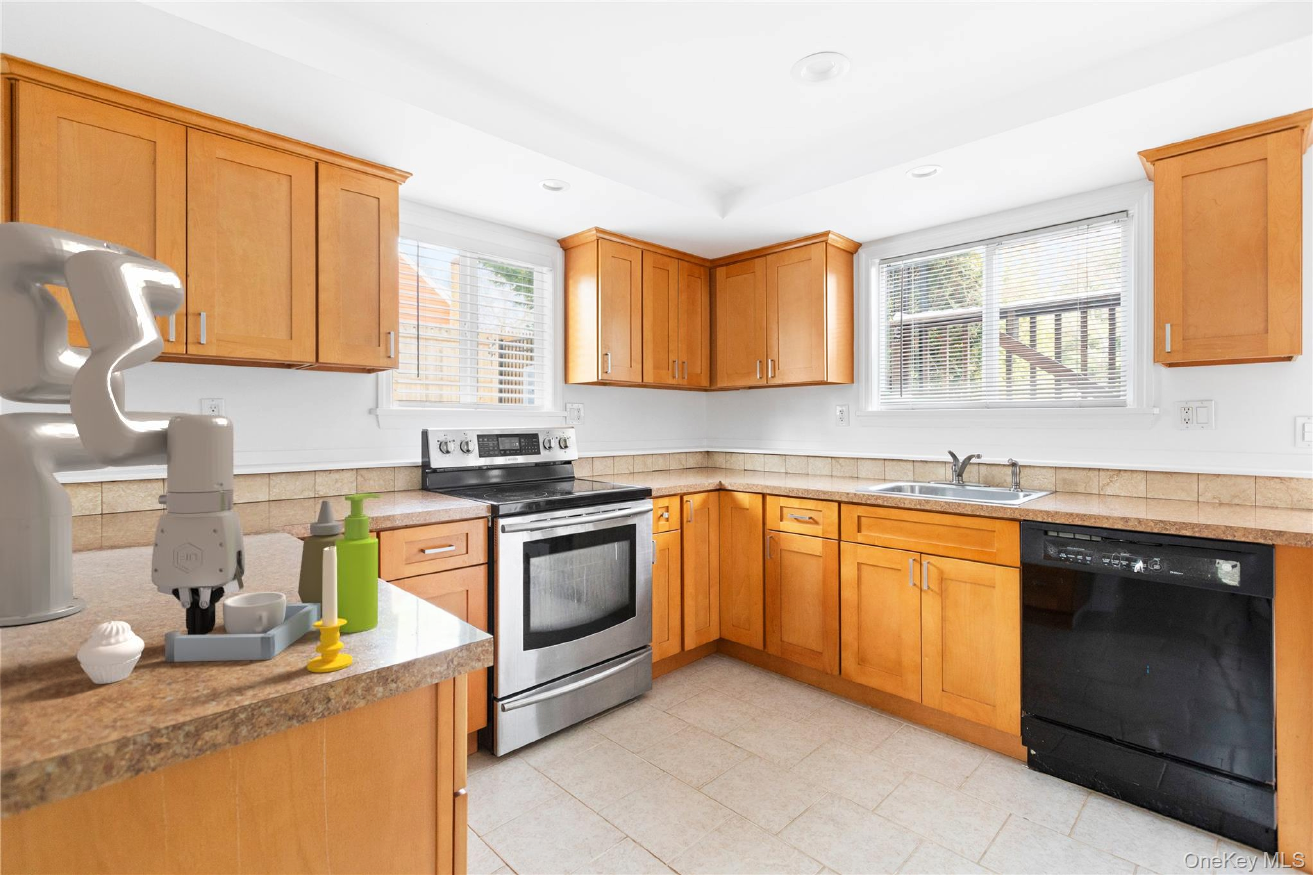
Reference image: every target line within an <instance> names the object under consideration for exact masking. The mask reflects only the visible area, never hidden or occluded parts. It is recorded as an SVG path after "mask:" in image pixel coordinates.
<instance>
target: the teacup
mask: <svg viewBox="0 0 1313 875" xmlns="http://www.w3.org/2000/svg"><path fill="white" fill-rule="evenodd" d="M286 604H287V598H286V594H284V593H282V592H277V591H257V592H256V591H255V592H248V593H242V594H238V595H234V596H232V597H229V598H226V599H225V600H224V601H223V603H222V616H223V617H222V618H223V625H224V628H225V631H226V634H266V633H267V632H269V631H270V630H272V629H273V628H275V627H276V626H278V625H280V624H281V623H283V621H284V618H285V611H286Z"/></svg>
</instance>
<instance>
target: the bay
mask: <svg viewBox="0 0 1313 875" xmlns="http://www.w3.org/2000/svg"><path fill="white" fill-rule="evenodd" d="M321 617H322V615H321V603H302V602H301V603H297V602H296V603H286V611H285V618H284V621H283V623H281V624H280V625H278V626H276V627H275V628H273V629H272V630H270V631H269V632H267V633H266V634H228V633H225V634H224V633H223V634H206V635H188V634H181V631H180V630H173V631H167V632H166V633H165V634H164V662H165V663H174V662H175V663H176V662H210V661H211V662H215V661H217V662H218V661H219V662H221V661H257V660H258V661H259V660H260V661H262V660H265V661H266V660H272V659H273V658H275V657H276V656H278V654H280V653H281V652H283V651H284V650H286V649H287V648H288V647H289V646H290V645H292V644H293V643H295V642H296V641H297V640H299V639H300V638H302V637H303V636H304V635H306V634H307V633H308V632H310V631H311V630H312V629H314V628H315V627H313V624H314V623H316V622H318V621H321V620H322V618H321Z"/></svg>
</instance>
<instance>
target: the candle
mask: <svg viewBox="0 0 1313 875" xmlns="http://www.w3.org/2000/svg"><path fill="white" fill-rule="evenodd" d="M321 617H322V618H321V621H318V622H316V623H314V624H313V627H314V628H315V629H319V630H320V631H319V632H320V635H319V640H320V644H319V645H317V646H316V647H315V652H316V653H318V654H320V656H316V657H314V658H312V659H310V660H308V662H307V663H306V670H308V671H309V672H313V673H318V674H319V673H329V672H330V673H331V672H336V671H341V670H343V669H346V668H348V667H349V666H351V664H352V663H353V659H354V658H353V656H352V655H351V654H347V653H339V651H342V650H343V649H344V647H345V643H343V642H342V641H340V636H341V634H340V633H341V632H339V629H340V626H342V625H344V624H346V623H347V621H346V620H345V619H338V618H337V555H336V546H330V544H329V547H327V548H325V549H324V550H323V590H322V615H321Z"/></svg>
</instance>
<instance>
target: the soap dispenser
mask: <svg viewBox="0 0 1313 875" xmlns="http://www.w3.org/2000/svg"><path fill="white" fill-rule="evenodd" d="M371 498H372V499H373V498H374V499H380V498H381V495H380V494H377V493H376V494H375V493H364V492H361V493H360V492H359V493H354V494H349V495H346V496H344V501H349V502H350V514H348V515H347V516H345V517H344V518H343V520H344V522H343V523H344V525H343V526H344V527H343V528H344V531H343V532H344V534H343V535H344V538H343V539H340V540H337V541H335V546H336V555H337V618H338V619H345V620H346V621H347V623H346V624H344V625H342V626H340V629H339V633H346V634H348V633H349V634H351V633H352V634H353V633H359V632H365V631H368V630H372V629H374V628H376V627H377V626H378V625H379V624H378V622H379V621H378V620H379V619H378V616H379V615H378V614H379V613H378V612H379V611H378V610H379V609H378V608H379V605H378V604H379V603H378V602H379V596H378V594H379V593H378V592H379V591H378V590H379V583H378V582H379V539H378V538H377V537H372V536H370V516H369V515H366V514H365V513H364V500H366V499H371ZM377 624H378V625H377Z"/></svg>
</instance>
